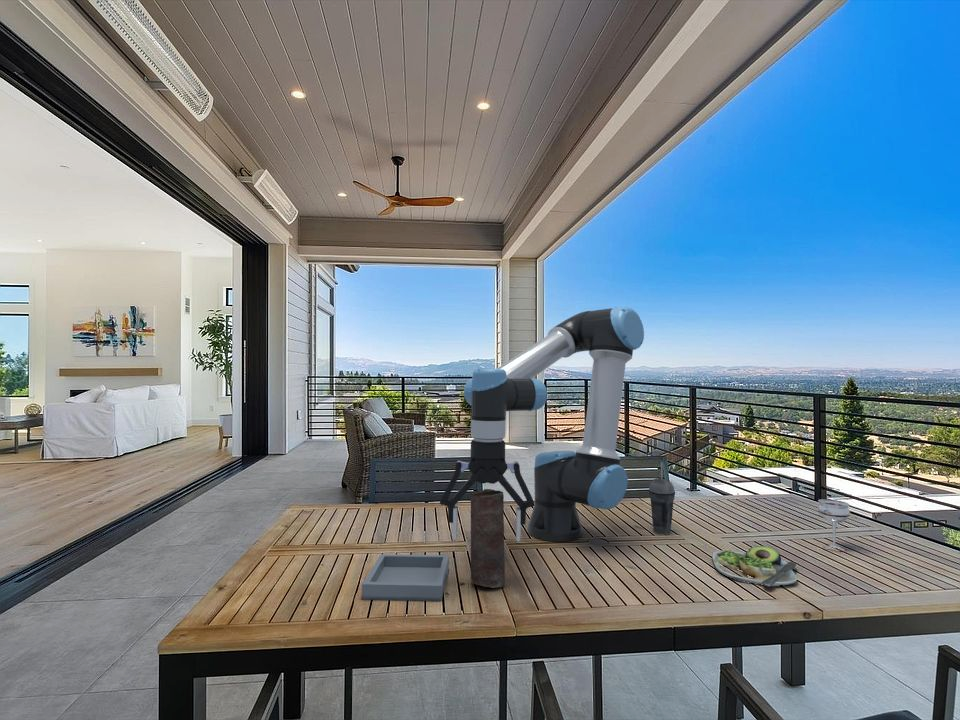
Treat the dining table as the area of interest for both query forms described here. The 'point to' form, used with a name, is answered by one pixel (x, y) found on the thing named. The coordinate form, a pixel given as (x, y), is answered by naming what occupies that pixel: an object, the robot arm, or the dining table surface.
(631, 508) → the dining table surface
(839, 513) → the wineglass
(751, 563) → the salad plate
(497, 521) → the brown rough cylinder
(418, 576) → the tray
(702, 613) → the dining table surface
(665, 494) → the beverage cup
